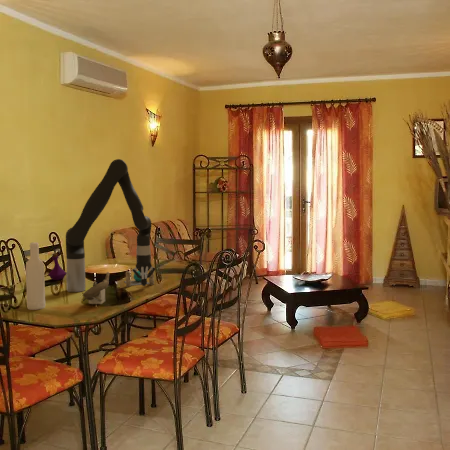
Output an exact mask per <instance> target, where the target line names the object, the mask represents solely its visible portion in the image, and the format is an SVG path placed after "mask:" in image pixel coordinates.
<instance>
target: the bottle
mask: <svg viewBox="0 0 450 450" xmlns="http://www.w3.org/2000/svg"><path fill="white" fill-rule="evenodd" d="M29 247H30V248H29V250H30V258H29V259H28V260H27V261H26V264H25V282H26V306H27V307H26V308H27V309H28V310H32V311H35V310H36V311H37V310H42V309H45V308H46V289H45V288H46V287H45V286H46V285H45V284H46V282H45V281H46V280H45V264H44V262H43V260H42V259H41V258H40V251H39V250H40V245H39V242H30V243H29Z"/></svg>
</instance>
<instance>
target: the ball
mask: <svg viewBox="0 0 450 450" xmlns="http://www.w3.org/2000/svg"><path fill="white" fill-rule="evenodd" d="M137 273H138V274H139V275H140V272H139V271H138V270H137ZM133 279H134V281H135V280H136V281H138V282H140V281H141V278H138V277H137V276H136V275H135V273H134V272H133Z"/></svg>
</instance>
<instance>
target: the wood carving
mask: <svg viewBox="0 0 450 450" xmlns="http://www.w3.org/2000/svg"><path fill="white" fill-rule="evenodd" d="M109 280H110V272H109V271H107V272H106V275H105V278H104V279H102V281H101V282H99V283H97V280H94V281H93V283H92V284H93V285H92V286H91V287H90V288H89V289H87V290H86V291H84V293H82V296H83V297H84V298H83V300H82V301H83V302H84V301H86V300H88V304H91V305H102V304H103V303H105V302H106V290H107V289H108V287H109V285H110V284H109V282H110V281H109Z"/></svg>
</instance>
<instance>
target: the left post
mask: <svg viewBox="0 0 450 450" xmlns="http://www.w3.org/2000/svg"><path fill="white" fill-rule="evenodd" d="M131 273H132V272H131V271H125V281H126V283H125V287H127V288H130V287H132V286H131V281H132V274H131Z"/></svg>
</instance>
